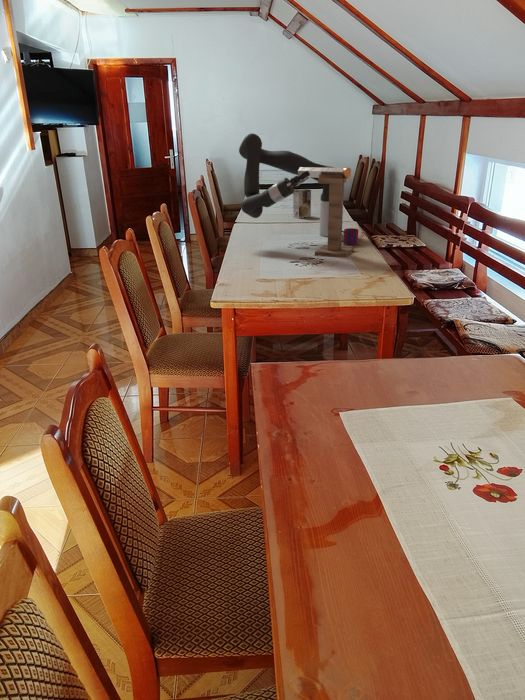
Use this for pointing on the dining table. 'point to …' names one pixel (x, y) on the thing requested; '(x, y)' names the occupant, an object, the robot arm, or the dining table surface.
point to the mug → (350, 236)
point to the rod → (326, 171)
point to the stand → (334, 217)
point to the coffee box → (302, 203)
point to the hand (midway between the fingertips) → (311, 171)
